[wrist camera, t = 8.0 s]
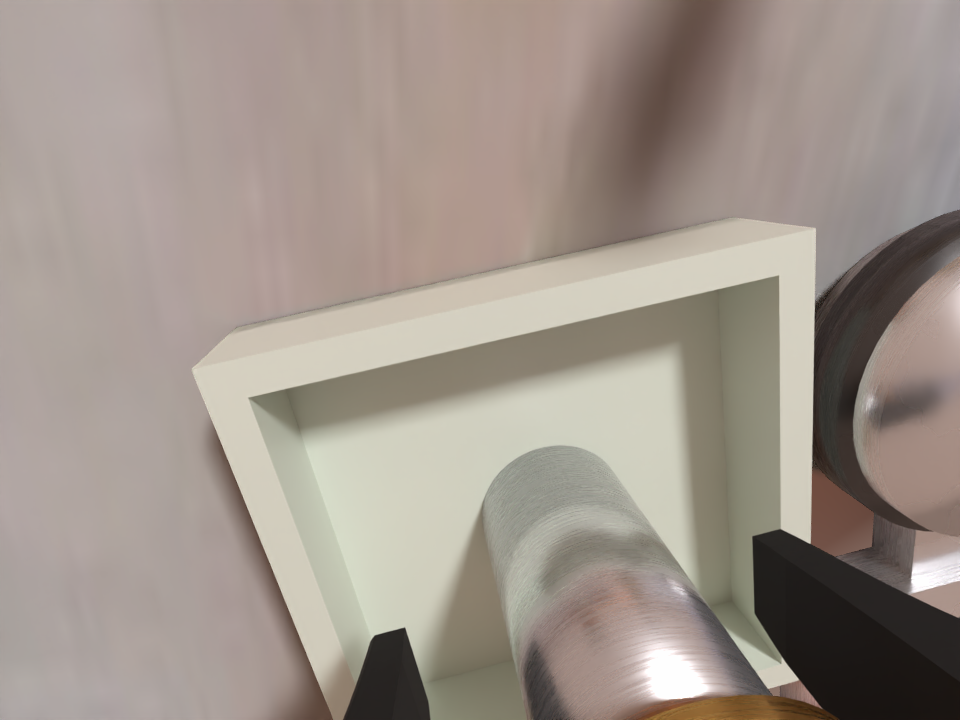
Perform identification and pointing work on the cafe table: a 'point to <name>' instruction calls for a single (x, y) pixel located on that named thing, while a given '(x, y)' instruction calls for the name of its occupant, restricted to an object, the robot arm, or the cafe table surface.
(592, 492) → the jar with gold lid
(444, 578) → the parts tray
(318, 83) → the cafe table surface
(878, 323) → the tensioner bracket
